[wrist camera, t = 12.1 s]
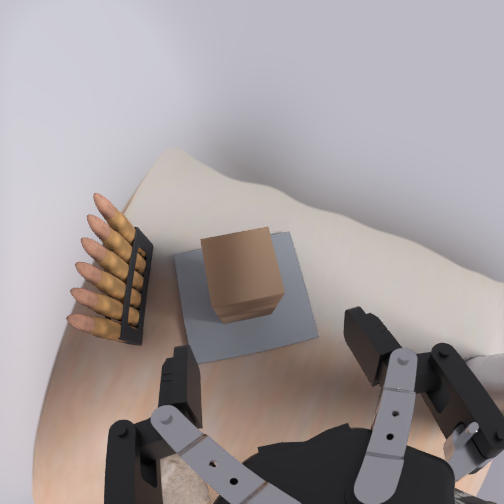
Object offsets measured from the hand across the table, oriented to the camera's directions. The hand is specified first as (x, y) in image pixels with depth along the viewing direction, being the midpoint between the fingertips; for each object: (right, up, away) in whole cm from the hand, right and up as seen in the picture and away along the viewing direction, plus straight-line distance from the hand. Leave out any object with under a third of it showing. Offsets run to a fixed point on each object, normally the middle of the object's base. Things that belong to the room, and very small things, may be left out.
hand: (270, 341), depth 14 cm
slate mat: (-2, 0, +14) cm, 14 cm away
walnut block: (-2, 0, +13) cm, 13 cm away
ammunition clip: (-13, 0, +14) cm, 19 cm away
